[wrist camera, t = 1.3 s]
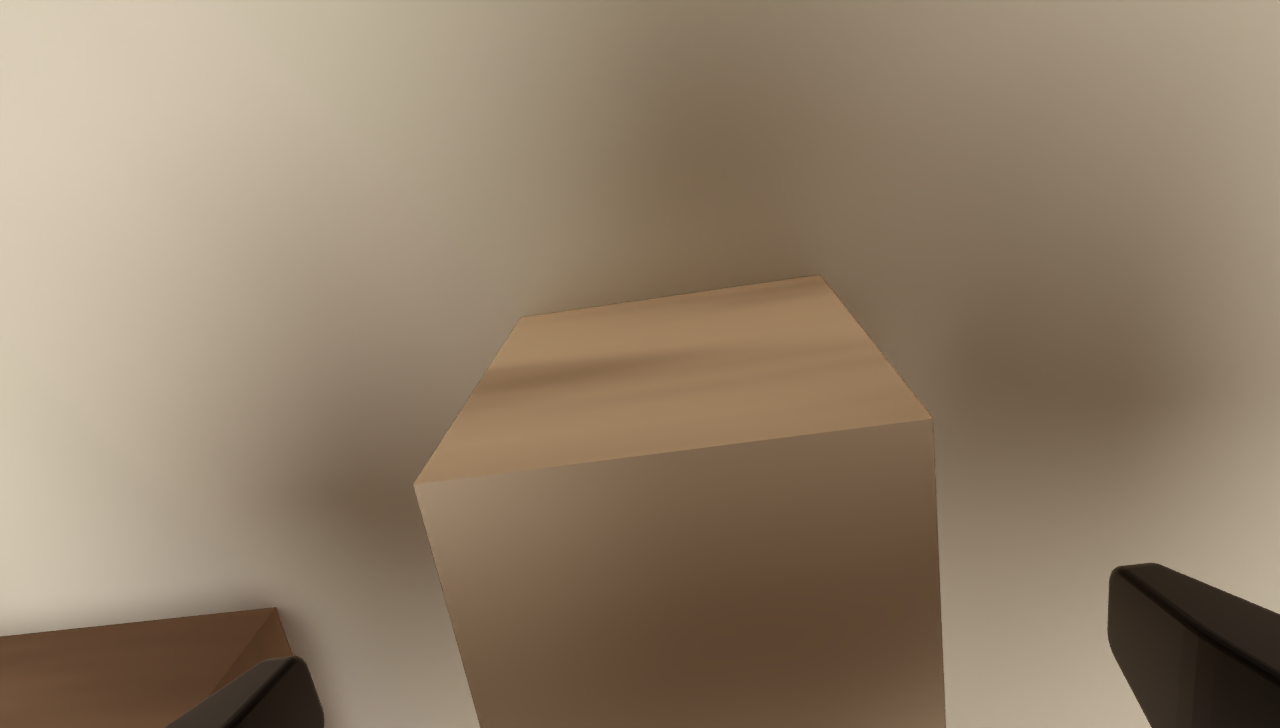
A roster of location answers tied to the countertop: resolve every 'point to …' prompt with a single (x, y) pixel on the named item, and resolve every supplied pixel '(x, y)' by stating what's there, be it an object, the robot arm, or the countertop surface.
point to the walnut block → (130, 669)
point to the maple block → (692, 521)
